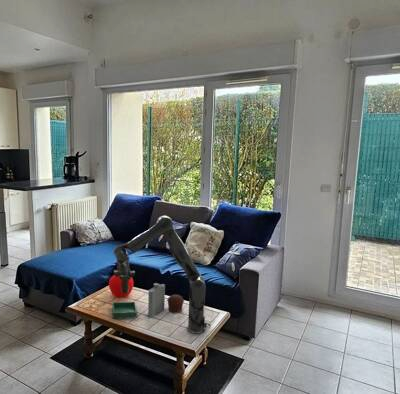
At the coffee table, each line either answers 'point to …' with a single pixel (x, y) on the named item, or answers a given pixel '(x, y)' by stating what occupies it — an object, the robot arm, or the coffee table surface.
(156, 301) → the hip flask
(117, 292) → the vase
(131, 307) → the tray
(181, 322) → the coffee table surface
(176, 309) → the muffin
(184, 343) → the coffee table surface
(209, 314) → the coffee table surface
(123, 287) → the pepper mill
